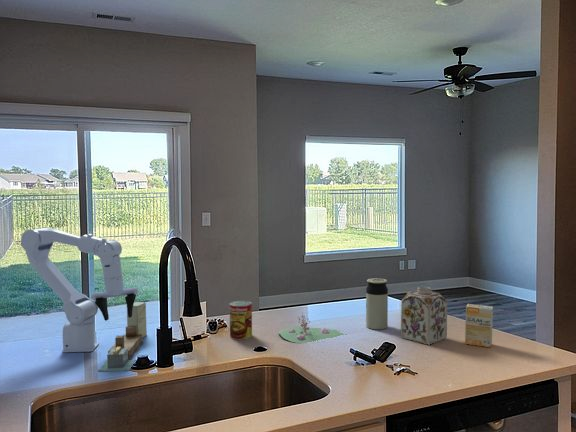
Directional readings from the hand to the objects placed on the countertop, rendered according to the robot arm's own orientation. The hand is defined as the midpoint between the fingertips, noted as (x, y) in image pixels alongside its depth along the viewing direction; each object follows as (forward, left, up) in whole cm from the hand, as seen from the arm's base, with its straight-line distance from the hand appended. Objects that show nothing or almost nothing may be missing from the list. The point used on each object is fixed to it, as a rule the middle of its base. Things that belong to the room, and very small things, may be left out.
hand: (118, 318), depth 162 cm
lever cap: (+4, -15, -10) cm, 18 cm away
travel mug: (+91, +19, -11) cm, 93 cm away
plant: (+65, +11, -11) cm, 67 cm away
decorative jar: (+104, +4, -11) cm, 104 cm away
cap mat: (+4, -15, -11) cm, 19 cm away
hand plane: (+3, -1, -11) cm, 11 cm away
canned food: (+40, +12, -11) cm, 43 cm away
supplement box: (+120, -4, -11) cm, 120 cm away
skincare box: (+3, +14, -11) cm, 17 cm away
